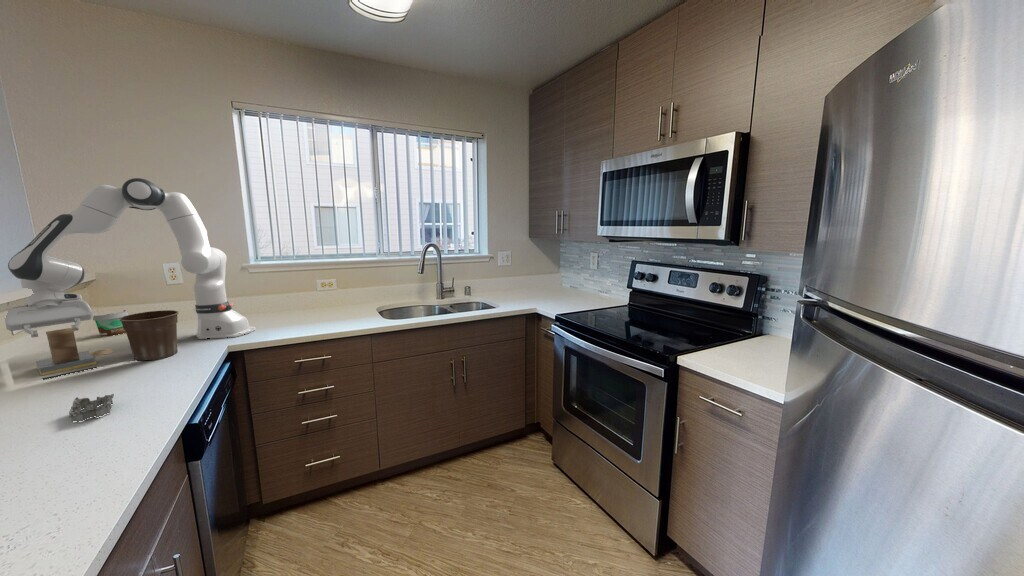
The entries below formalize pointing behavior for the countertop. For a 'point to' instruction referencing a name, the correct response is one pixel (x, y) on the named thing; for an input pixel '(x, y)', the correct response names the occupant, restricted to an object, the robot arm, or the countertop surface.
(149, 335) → the plant pot
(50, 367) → the dock
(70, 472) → the countertop surface
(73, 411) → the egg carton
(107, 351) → the pallet
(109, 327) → the food container
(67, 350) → the crate
